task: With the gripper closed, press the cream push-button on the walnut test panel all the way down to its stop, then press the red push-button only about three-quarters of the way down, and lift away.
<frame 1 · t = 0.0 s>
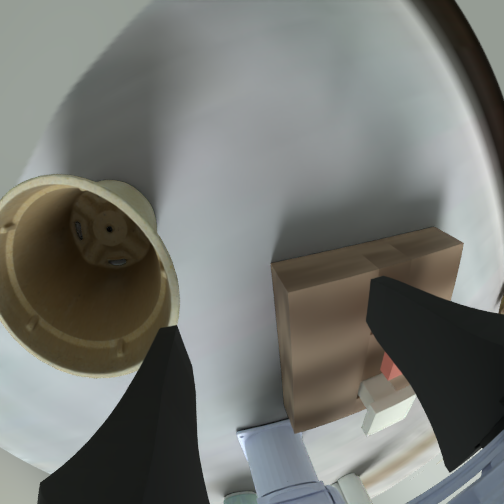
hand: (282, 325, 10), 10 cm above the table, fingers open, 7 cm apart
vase: (344, 480, 51), on the table
red button: (399, 327, 18), point 6 cm above the table, slide at 0.0 cm
cream button: (379, 397, 22), point 6 cm above the table, slide at 0.0 cm
test panel: (359, 328, 25), on the table
flower pot: (113, 224, 17), on the table
disposable coffee cup: (241, 494, 41), on the table
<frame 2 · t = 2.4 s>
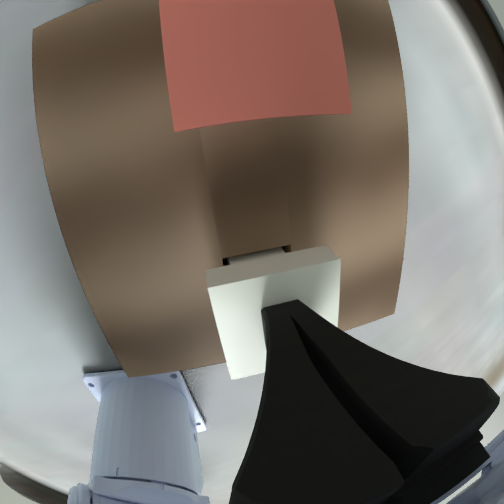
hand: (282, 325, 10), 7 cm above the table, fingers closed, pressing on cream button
red button: (239, 58, 7), point 6 cm above the table, slide at 0.0 cm
cream button: (264, 289, 12), point 5 cm above the table, slide at 0.9 cm, touching gripper
test panel: (233, 168, 14), on the table
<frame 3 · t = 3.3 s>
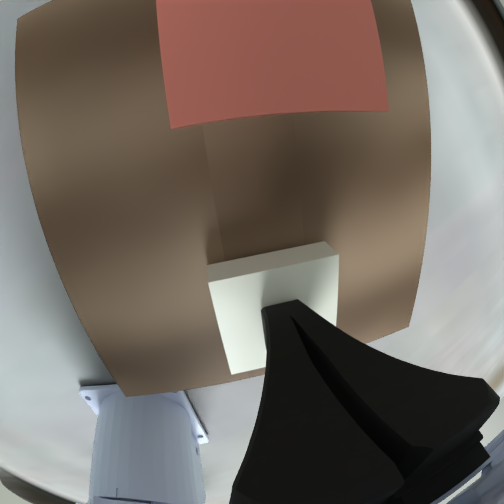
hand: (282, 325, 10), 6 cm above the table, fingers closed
red button: (250, 43, 6), point 6 cm above the table, slide at 0.0 cm
cream button: (264, 285, 12), point 3 cm above the table, slide at 2.7 cm
test panel: (238, 170, 13), on the table
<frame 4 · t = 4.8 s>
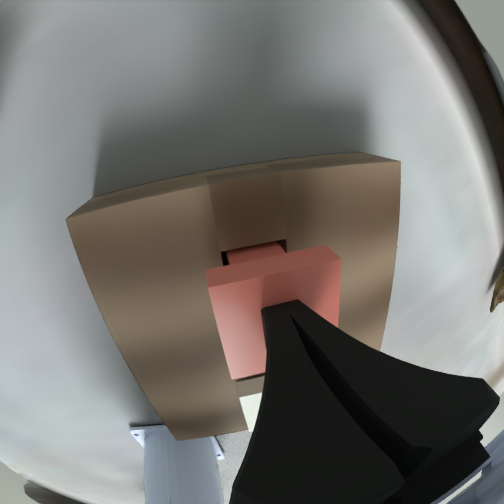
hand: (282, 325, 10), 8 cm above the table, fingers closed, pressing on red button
red button: (264, 289, 12), point 5 cm above the table, slide at 0.3 cm, touching gripper
cream button: (269, 379, 18), point 3 cm above the table, slide at 2.7 cm
test panel: (252, 304, 19), on the table
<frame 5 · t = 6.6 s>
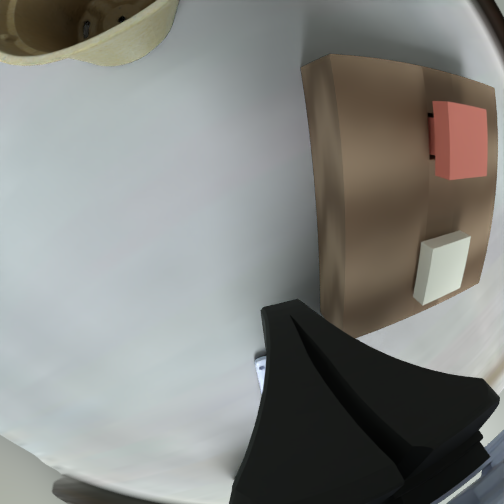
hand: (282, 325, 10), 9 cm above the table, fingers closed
red button: (441, 136, 14), point 4 cm above the table, slide at 1.8 cm
cream button: (426, 255, 19), point 3 cm above the table, slide at 2.7 cm
test panel: (406, 188, 19), on the table
flower pot: (125, 22, 11), on the table
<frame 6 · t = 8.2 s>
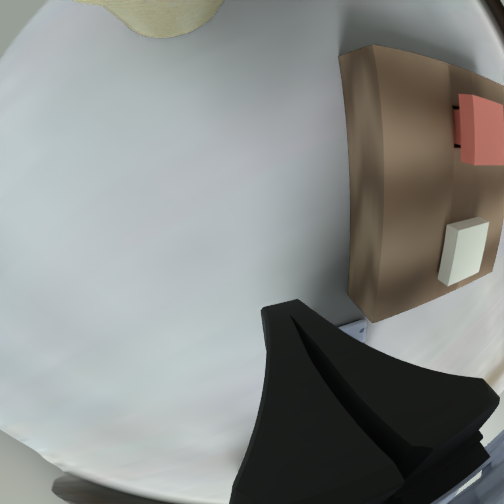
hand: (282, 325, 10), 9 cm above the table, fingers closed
red button: (463, 127, 14), point 4 cm above the table, slide at 1.8 cm
cream button: (447, 240, 19), point 3 cm above the table, slide at 2.7 cm
test panel: (428, 177, 20), on the table
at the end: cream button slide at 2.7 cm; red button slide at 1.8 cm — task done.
